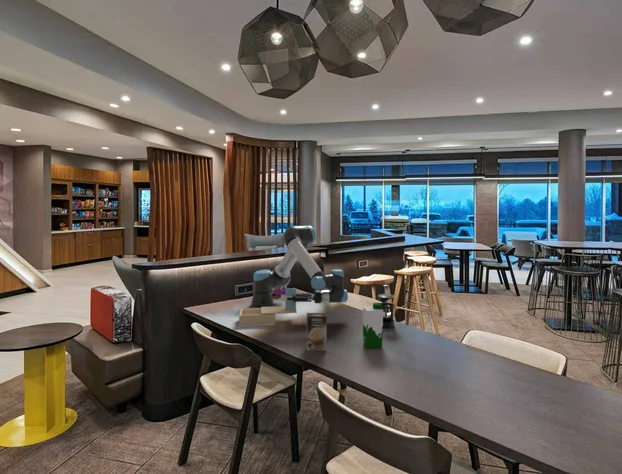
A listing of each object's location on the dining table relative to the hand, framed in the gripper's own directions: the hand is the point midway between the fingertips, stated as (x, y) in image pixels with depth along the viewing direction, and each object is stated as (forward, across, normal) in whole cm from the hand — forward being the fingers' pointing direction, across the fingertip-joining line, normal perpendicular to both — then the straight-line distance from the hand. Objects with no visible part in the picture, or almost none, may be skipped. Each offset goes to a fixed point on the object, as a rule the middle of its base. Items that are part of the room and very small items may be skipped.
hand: (281, 297), depth 211 cm
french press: (-57, -16, -14) cm, 61 cm away
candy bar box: (-1, +68, -14) cm, 70 cm away
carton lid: (+2, 0, -7) cm, 7 cm away
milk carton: (-41, -45, -14) cm, 63 cm away
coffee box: (-14, -46, -14) cm, 50 cm away
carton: (+14, 0, -14) cm, 19 cm away
